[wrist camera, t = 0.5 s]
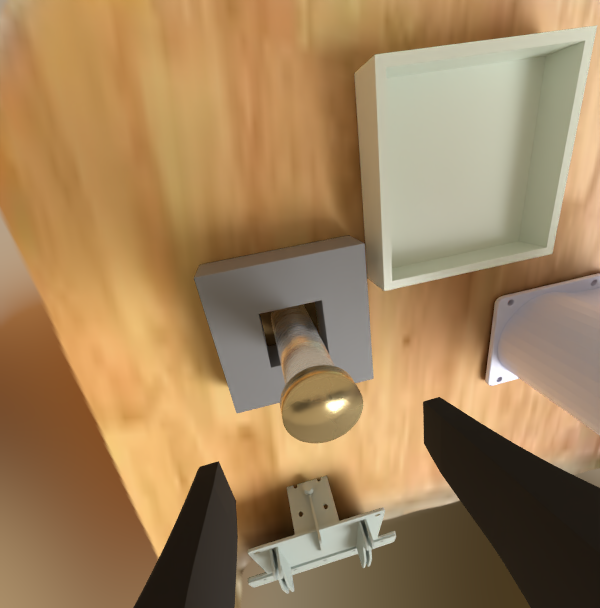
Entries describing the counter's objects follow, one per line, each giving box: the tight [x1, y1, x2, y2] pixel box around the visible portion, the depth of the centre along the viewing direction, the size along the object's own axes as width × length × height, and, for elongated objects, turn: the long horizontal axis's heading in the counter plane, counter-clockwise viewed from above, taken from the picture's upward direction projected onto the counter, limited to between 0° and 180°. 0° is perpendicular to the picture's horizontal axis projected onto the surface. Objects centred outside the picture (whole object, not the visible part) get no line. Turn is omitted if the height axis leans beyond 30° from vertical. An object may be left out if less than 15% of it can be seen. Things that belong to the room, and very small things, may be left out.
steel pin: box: [271, 304, 363, 443], centre depth 16 cm, size 3×3×9 cm
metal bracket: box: [248, 476, 396, 593], centre depth 28 cm, size 14×6×15 cm
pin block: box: [194, 235, 373, 413], centre depth 18 cm, size 9×9×2 cm
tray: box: [354, 26, 597, 291], centre depth 17 cm, size 11×11×2 cm
